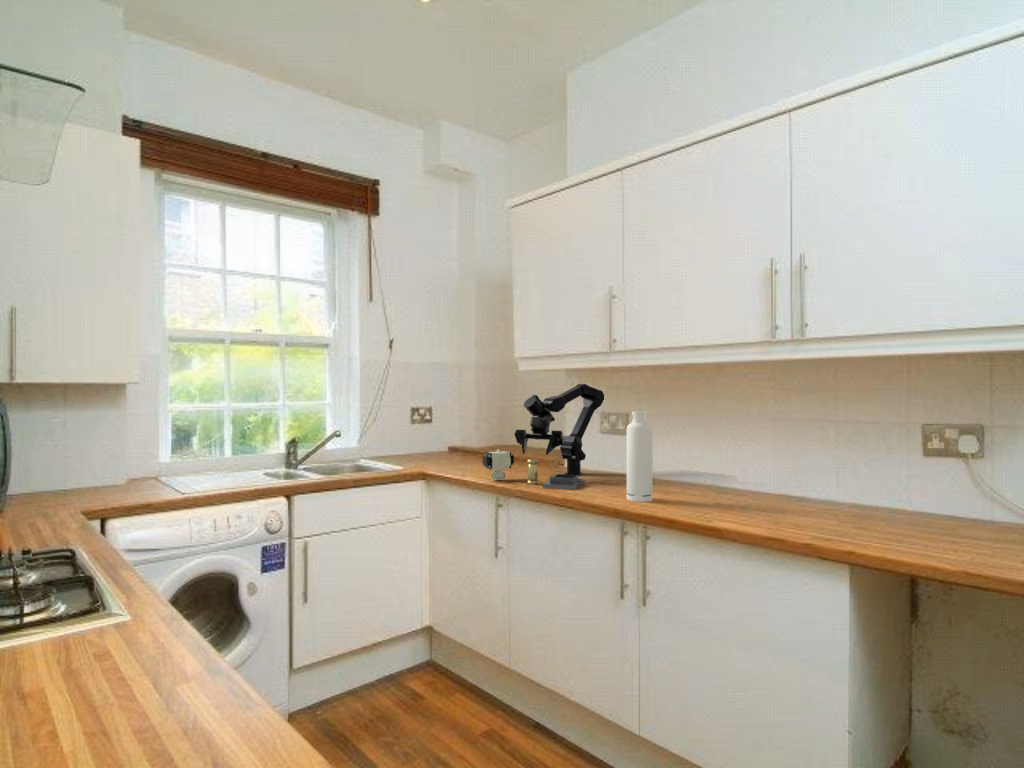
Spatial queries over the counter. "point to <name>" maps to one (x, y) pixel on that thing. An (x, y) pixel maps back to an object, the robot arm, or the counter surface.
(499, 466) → the pneumatic valve
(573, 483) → the plate
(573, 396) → the robot arm
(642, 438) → the bottle
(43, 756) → the counter surface
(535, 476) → the brass coupling
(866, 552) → the counter surface
